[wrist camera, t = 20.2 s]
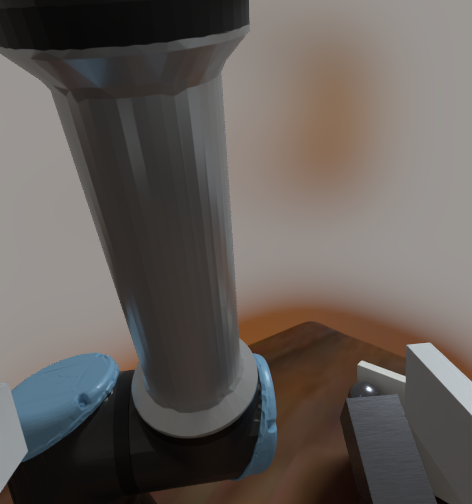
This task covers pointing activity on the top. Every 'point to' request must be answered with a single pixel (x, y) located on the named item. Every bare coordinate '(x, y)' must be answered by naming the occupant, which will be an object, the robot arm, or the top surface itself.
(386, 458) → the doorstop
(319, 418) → the top surface
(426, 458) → the door
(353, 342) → the top surface
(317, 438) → the top surface
